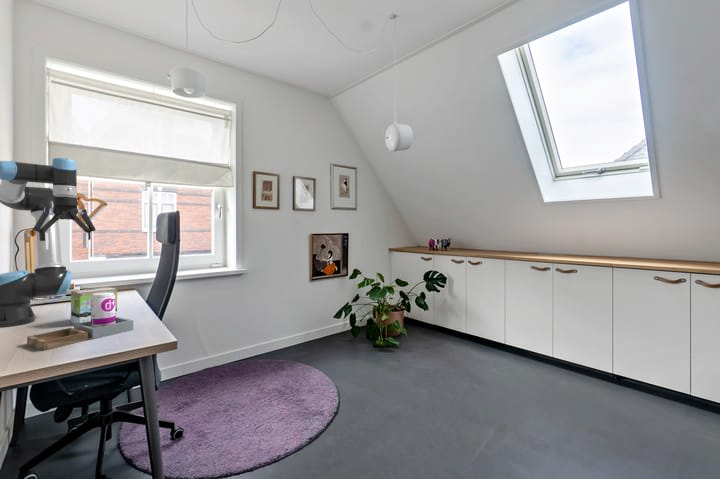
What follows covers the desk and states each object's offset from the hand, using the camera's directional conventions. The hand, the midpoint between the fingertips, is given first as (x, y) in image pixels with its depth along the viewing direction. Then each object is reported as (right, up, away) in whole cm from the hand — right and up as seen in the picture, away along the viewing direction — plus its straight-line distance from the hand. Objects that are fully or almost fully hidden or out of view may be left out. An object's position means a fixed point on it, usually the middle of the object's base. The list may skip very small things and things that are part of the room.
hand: (66, 248), depth 143 cm
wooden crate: (+7, -35, -12) cm, 38 cm away
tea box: (-4, -35, +20) cm, 40 cm away
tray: (+14, -35, +2) cm, 37 cm away
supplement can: (+14, -34, +2) cm, 37 cm away
